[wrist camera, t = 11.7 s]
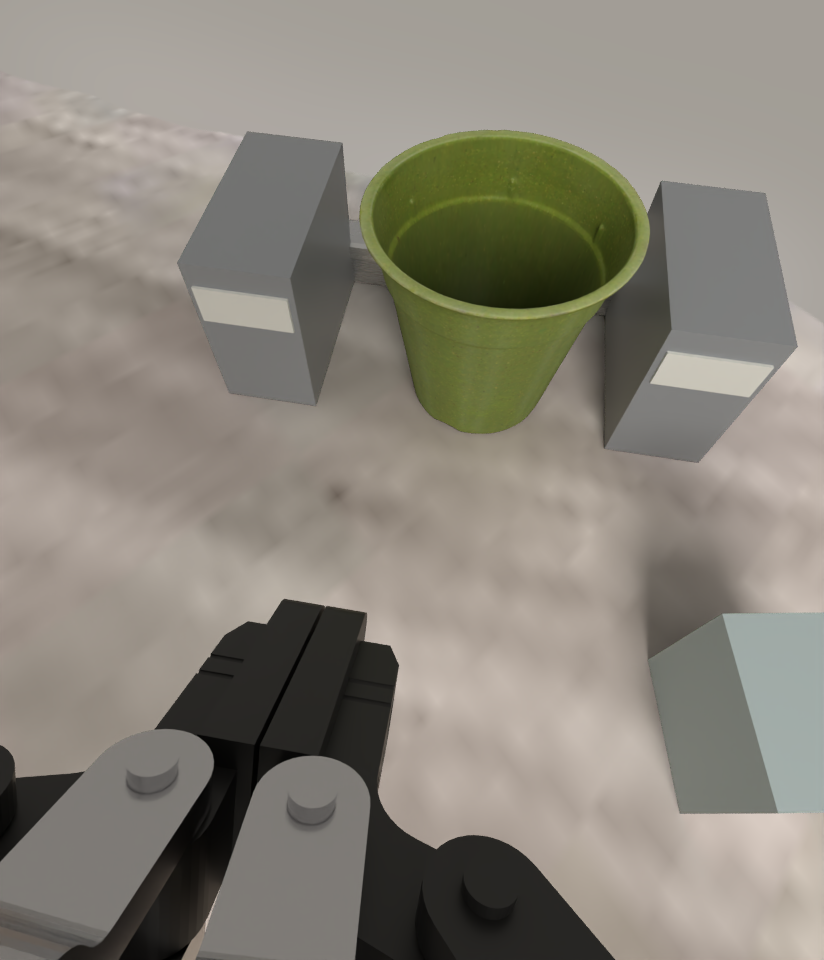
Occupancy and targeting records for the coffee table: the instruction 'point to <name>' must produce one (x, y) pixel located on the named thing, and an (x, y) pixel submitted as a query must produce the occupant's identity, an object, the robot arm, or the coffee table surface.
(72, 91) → the coffee table surface
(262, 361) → the block
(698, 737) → the block
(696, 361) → the block
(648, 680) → the coffee table surface
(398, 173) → the plant pot
